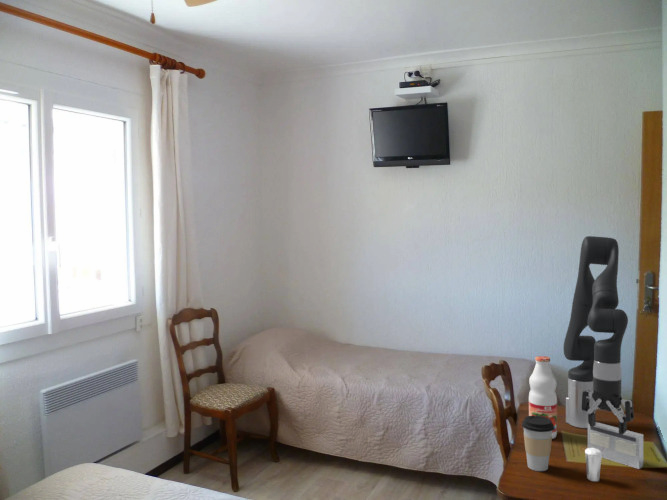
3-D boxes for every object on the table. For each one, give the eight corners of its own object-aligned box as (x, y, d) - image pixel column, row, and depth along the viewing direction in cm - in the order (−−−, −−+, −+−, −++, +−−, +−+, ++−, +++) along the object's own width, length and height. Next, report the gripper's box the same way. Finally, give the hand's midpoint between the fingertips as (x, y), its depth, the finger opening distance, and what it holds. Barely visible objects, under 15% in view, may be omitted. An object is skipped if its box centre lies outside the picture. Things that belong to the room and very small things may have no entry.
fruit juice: (552, 430, 204) (552, 354, 203) (560, 440, 195) (560, 360, 193) (525, 429, 205) (525, 354, 204) (532, 439, 196) (532, 360, 194)
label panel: (587, 453, 184) (587, 423, 183) (592, 450, 186) (592, 420, 185) (638, 469, 171) (638, 437, 171) (643, 466, 173) (643, 434, 173)
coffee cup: (530, 458, 181) (530, 412, 180) (559, 467, 174) (559, 419, 173) (516, 467, 174) (516, 420, 173) (545, 477, 167) (545, 427, 167)
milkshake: (606, 483, 163) (606, 449, 162) (587, 482, 164) (587, 448, 163) (602, 476, 167) (602, 443, 167) (583, 475, 168) (583, 442, 168)
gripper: (638, 378, 162) (637, 433, 163) (589, 368, 173) (589, 420, 174) (626, 383, 157) (626, 440, 158) (577, 373, 168) (577, 426, 169)
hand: (606, 429), depth 166 cm, fingers open, 8 cm apart
